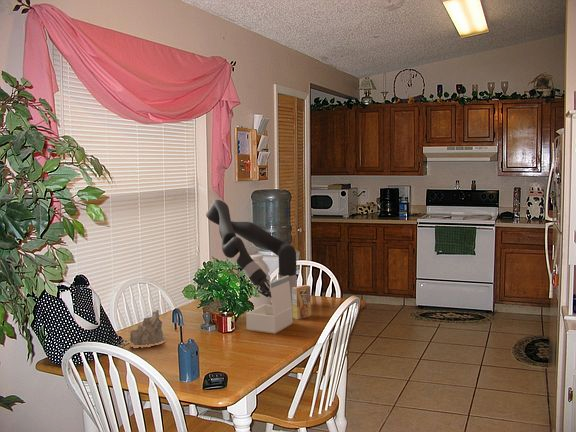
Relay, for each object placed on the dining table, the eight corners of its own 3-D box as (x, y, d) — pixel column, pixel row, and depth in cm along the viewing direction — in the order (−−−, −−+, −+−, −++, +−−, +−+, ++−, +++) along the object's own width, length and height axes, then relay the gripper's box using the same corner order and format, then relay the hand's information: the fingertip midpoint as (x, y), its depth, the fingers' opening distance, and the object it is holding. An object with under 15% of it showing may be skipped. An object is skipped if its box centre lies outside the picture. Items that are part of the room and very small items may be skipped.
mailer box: (246, 330, 268) (246, 313, 268) (265, 320, 283) (264, 304, 282) (275, 333, 261) (274, 316, 260) (292, 323, 276) (292, 307, 275)
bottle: (241, 306, 311) (239, 254, 308) (265, 303, 317) (263, 252, 314) (250, 312, 298) (248, 258, 295) (275, 308, 304) (273, 256, 301)
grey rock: (161, 334, 266) (158, 302, 263) (168, 345, 251) (165, 312, 248) (126, 341, 260) (122, 309, 257) (132, 353, 245) (127, 319, 242)
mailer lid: (273, 315, 261) (269, 282, 260) (291, 306, 276) (287, 275, 275) (274, 315, 260) (270, 282, 260) (292, 306, 275) (288, 275, 274)
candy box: (305, 314, 292) (305, 284, 290) (311, 316, 288) (310, 285, 287) (292, 318, 286) (291, 287, 284) (297, 319, 283) (296, 288, 281)
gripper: (257, 275, 280) (280, 303, 275) (242, 281, 268) (265, 310, 264) (266, 265, 277) (289, 293, 272) (251, 270, 265) (275, 299, 261)
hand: (277, 301), depth 268 cm, fingers closed
